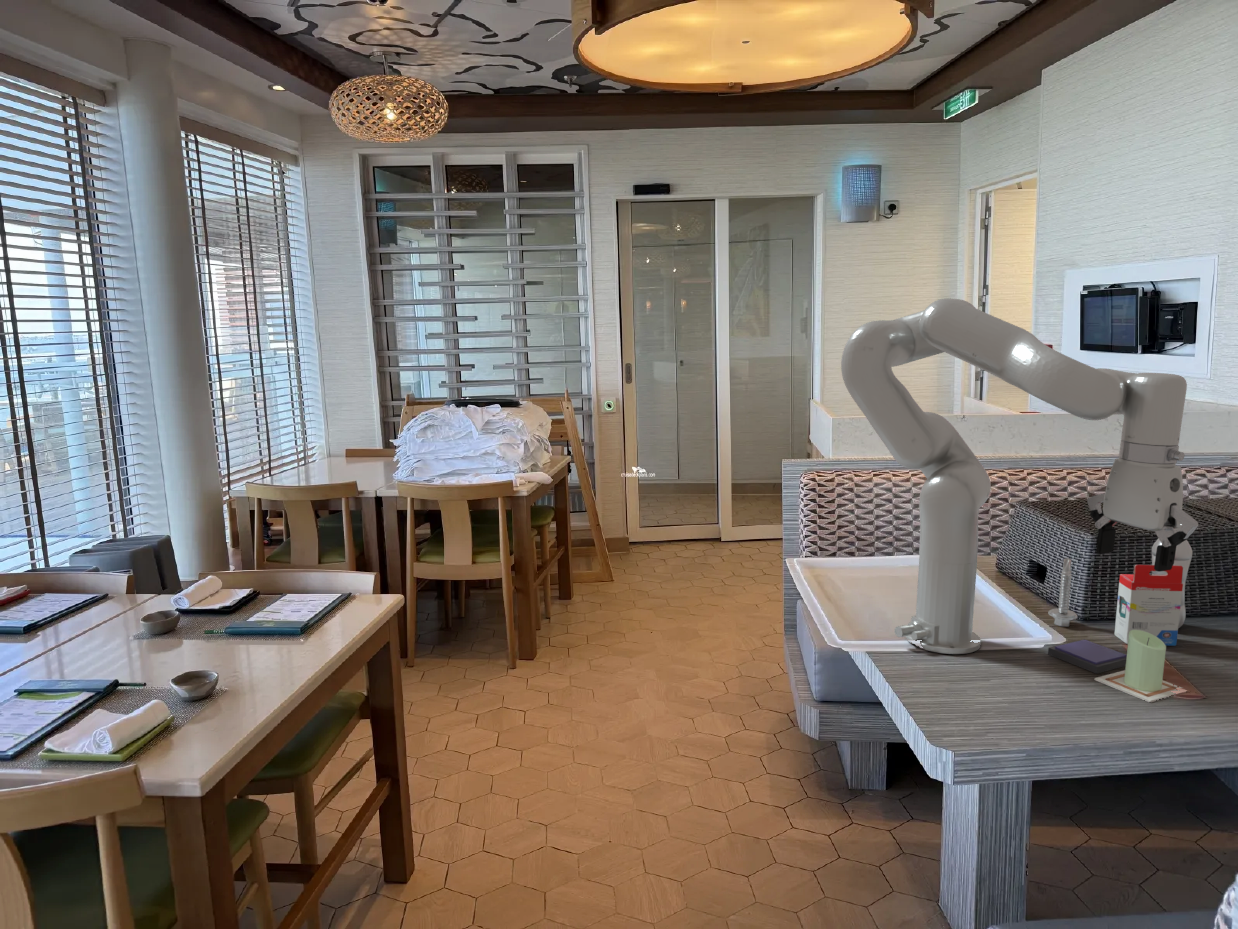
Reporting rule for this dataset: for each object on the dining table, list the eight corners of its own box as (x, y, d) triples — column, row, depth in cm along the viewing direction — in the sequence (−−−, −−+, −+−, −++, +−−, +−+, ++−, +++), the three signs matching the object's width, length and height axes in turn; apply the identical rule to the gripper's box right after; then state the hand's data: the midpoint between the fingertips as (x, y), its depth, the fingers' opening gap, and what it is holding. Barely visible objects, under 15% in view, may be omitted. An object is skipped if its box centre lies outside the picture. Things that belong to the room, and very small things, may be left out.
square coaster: (1149, 702, 127) (1150, 700, 127) (1094, 680, 135) (1094, 677, 135) (1187, 691, 131) (1187, 689, 131) (1131, 670, 139) (1131, 667, 139)
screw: (1081, 629, 157) (1054, 628, 157) (1068, 620, 162) (1042, 619, 162) (1087, 561, 155) (1060, 561, 155) (1074, 554, 160) (1048, 554, 160)
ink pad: (1096, 673, 137) (1097, 665, 137) (1047, 654, 145) (1048, 645, 145) (1132, 664, 141) (1133, 655, 141) (1083, 645, 149) (1084, 637, 149)
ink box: (1162, 636, 153) (1170, 558, 151) (1177, 646, 149) (1186, 566, 146) (1112, 635, 154) (1120, 557, 152) (1126, 645, 149) (1134, 565, 147)
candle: (1168, 687, 132) (1173, 637, 130) (1150, 694, 129) (1156, 643, 128) (1135, 675, 136) (1140, 627, 134) (1117, 682, 133) (1122, 633, 132)
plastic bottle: (1183, 624, 159) (1195, 521, 156) (1184, 635, 154) (1196, 528, 150) (1143, 618, 163) (1154, 516, 159) (1143, 629, 157) (1154, 524, 154)
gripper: (1221, 462, 124) (1204, 575, 127) (1112, 444, 139) (1099, 544, 142) (1188, 465, 121) (1171, 580, 124) (1080, 446, 136) (1067, 548, 139)
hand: (1132, 561), depth 133 cm, fingers open, 9 cm apart
